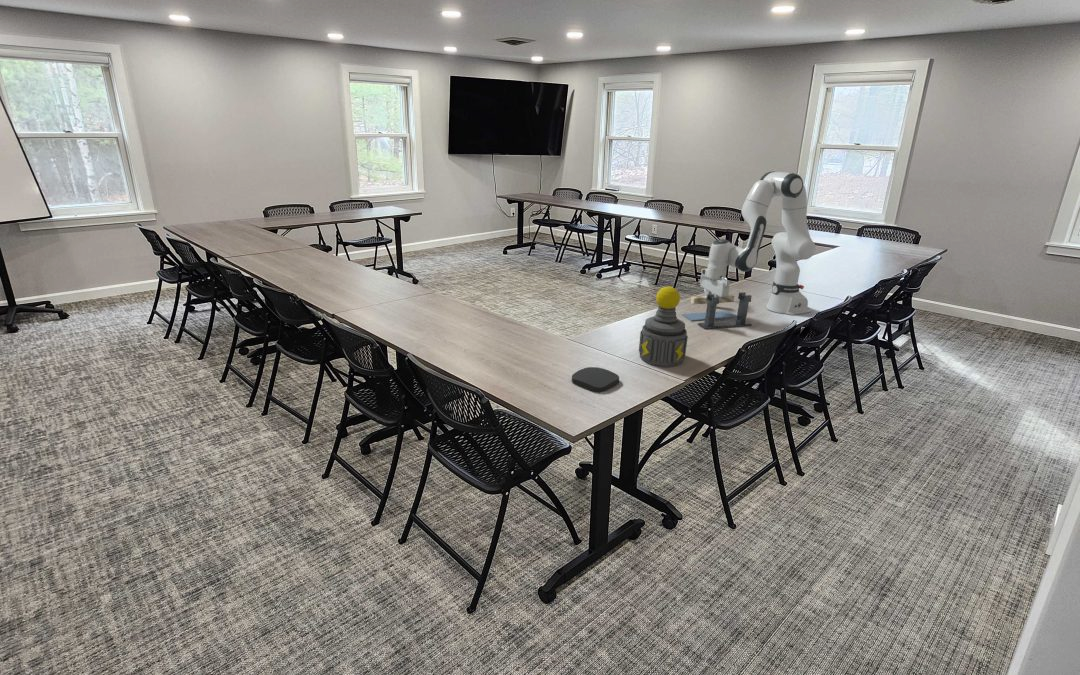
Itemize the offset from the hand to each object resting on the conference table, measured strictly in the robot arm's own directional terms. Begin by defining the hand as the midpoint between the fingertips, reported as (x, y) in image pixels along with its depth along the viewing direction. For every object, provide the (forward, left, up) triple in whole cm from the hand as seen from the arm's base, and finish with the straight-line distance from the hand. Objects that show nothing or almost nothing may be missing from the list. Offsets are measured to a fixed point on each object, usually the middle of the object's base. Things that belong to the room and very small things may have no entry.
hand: (712, 301), depth 276 cm
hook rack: (0, +13, -8) cm, 15 cm away
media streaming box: (+82, +58, -9) cm, 101 cm away
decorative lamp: (+48, +43, -8) cm, 65 cm away
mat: (0, 0, -8) cm, 8 cm away
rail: (0, 0, -1) cm, 1 cm away
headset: (-13, -21, -8) cm, 26 cm away
